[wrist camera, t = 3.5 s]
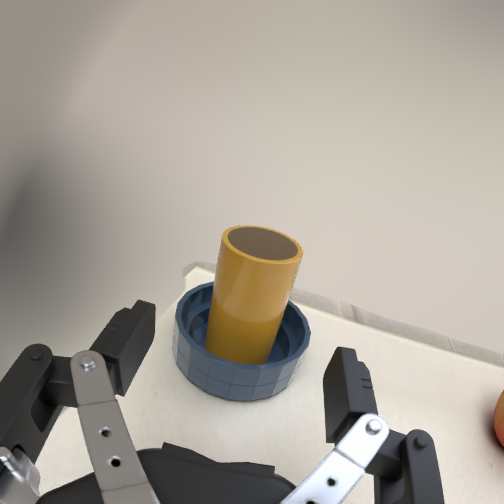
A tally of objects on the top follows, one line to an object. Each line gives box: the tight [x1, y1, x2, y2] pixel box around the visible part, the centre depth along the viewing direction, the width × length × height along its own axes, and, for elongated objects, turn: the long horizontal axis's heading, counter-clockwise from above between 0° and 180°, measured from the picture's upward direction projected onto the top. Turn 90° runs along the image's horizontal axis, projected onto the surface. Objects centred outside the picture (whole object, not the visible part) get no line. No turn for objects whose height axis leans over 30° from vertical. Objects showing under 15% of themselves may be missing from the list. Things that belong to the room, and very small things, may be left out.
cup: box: [204, 225, 303, 365], centre depth 26 cm, size 6×6×11 cm
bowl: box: [173, 282, 311, 401], centre depth 27 cm, size 11×11×4 cm
